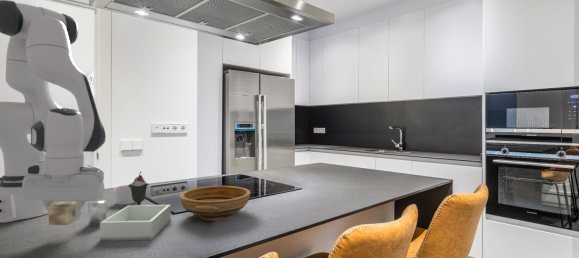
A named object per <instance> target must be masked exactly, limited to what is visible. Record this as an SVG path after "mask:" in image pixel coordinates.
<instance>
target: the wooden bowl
mask: <svg viewBox="0 0 579 258" xmlns="http://www.w3.org/2000/svg"><path fill="white" fill-rule="evenodd" d="M251 193H252V192H251V190H249V189H248V188H245V187H240V186H233V185H211V186H210V185H208V186H200V187H196V188H190V189H187V190H184V191H183V192H181V193H179V195H178V196H179V199H180V202H181V203H180V204H181V205H182V207H183V208H184V210H186V212H189V213H191V214H193V215H198V216H199V219H202V220H205V221H220V220H225V219H228V218H230V217H231V216H232V215H233V213H236V212H238V211H240V210H241V209H243V208H244V207H246V205H247V204H248V202H249V199H250V196H251Z"/></svg>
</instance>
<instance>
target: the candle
mask: <svg viewBox="0 0 579 258" xmlns="http://www.w3.org/2000/svg"><path fill="white" fill-rule="evenodd" d="M128 185H129V184H127V185H125V184H124V185H119V186H116V187H114V188H113V189H114V193H115V199H116V202H117V204H118V205H120V206H128V205H133V204H137V203H136V202H134V201H133V199H132V193H131V188H130V187H128Z"/></svg>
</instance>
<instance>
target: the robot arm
mask: <svg viewBox="0 0 579 258" xmlns="http://www.w3.org/2000/svg"><path fill="white" fill-rule="evenodd" d="M78 26H79V25H78V22H77V21H76V19H74V18H73V17H72V16H70V15H68V14H65V13H59V12H57V11H55V10H51V9H49V8H45V7H42V6H35V5H31V4H28V3H27V4H26V3H20V2H15V1H14V0H0V33H1V34H3V35H6V36H9V37H10V38H9V41H8V45H7V50H6V58H5V59H6V61H5V82H6V84H7V85H8V86H9V87H10V88H12V90H14V91H17V92H18V93H20V94H22V96H23V98H24V102H21V101H20V102H17V101H0V149H1V152H2V156H3V167H4V168H3V169H4V170H3V171H4V175H3V176H1V177H0V223H2V224H3V223H9V222H14V221H19V220H26V219H31V218H36V217H40V216H44V215H46V214H47V217H49V206H52V205H53V203H54V201H55V202H57V201H58V202H76V205H78V206H77V208H76V209H74V210H72V217H78V216H79V217H80V216H81V215H82V209H83V208H84V206H85V204H86V202H91V201H98V200H103V198H104V197H105V195H106V194H105V193H106V192H105V191H106V190H105V183H104V177H105V173H104V171H103V170H102V169H100V168H99V167H89V166H85V154H84V152H90V153H91V152H92V153H93V152H96V151H98V150H99V149H100V148H101V147H102V146H103V145H104V144H105V142H106V137H107V136H106V131H105V127H104V125H103V123H102V121H101V119H100V115H99V113H98V108H97V105H96V102H95V101H96V100H95V99H94V95H93V91H92V89H91V86H90V82H89V79H88V77H87V75H86V73H85V72H84V71H82V70H80V69H79V67H78V66H77V65H76V63H75V62H74V59H73V55H72V46H71V45H72V44H74V43H75V42H76V41H77V40H78V35H79V27H78ZM49 83H50V84H53V85H54V86H55V85H56V86H59V87H60V88H63V89H65V90H66V91H67V92H70V93H71V94H72V95H73V96H74V98H75V101H76V104H77V107H78V110H77V109H73V108H69V107H67V108H65V107H62V106H61V105H60V104H58V103H57V101H56V100H55V99H54V97H53V96H52V93H51V90H50V87H49ZM28 135H30V141H29V139H28Z"/></svg>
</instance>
